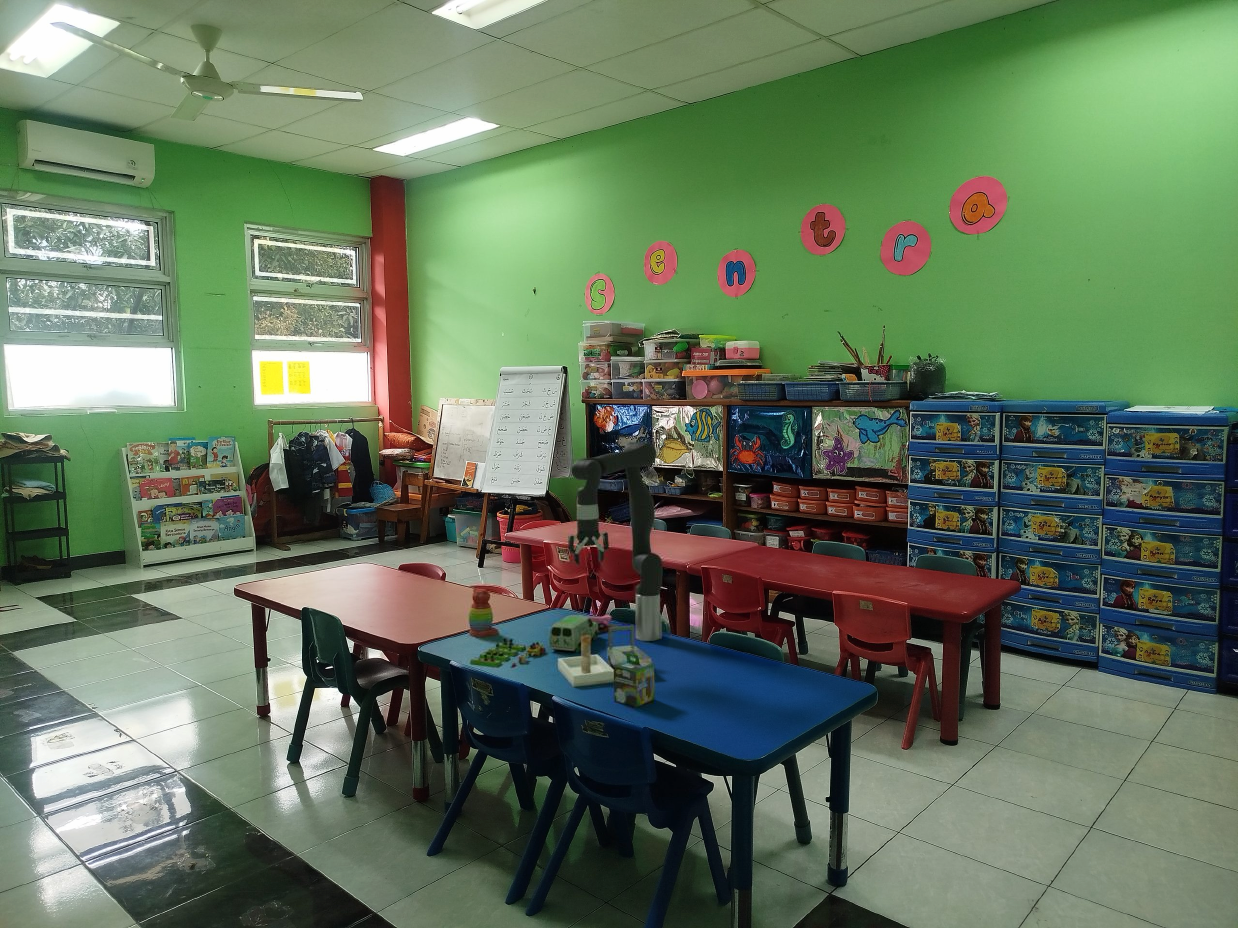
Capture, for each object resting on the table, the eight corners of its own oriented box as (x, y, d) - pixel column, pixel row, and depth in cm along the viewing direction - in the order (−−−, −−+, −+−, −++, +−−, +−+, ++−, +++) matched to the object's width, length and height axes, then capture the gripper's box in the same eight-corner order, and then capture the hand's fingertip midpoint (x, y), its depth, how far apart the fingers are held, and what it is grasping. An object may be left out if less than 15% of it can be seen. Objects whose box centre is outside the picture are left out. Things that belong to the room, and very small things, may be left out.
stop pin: (589, 670, 276) (589, 634, 276) (591, 673, 274) (591, 637, 273) (580, 671, 275) (580, 635, 275) (582, 674, 273) (582, 638, 272)
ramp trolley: (634, 661, 289) (634, 625, 288) (651, 676, 274) (651, 637, 273) (607, 664, 285) (607, 627, 284) (622, 679, 270) (622, 640, 269)
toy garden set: (500, 646, 308) (500, 634, 308) (548, 652, 302) (548, 639, 301) (470, 665, 286) (469, 652, 286) (520, 671, 280) (520, 658, 280)
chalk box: (655, 699, 252) (655, 651, 251) (636, 708, 245) (636, 659, 244) (631, 692, 258) (631, 646, 257) (612, 701, 251) (612, 653, 250)
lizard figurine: (563, 631, 329) (563, 613, 329) (601, 622, 343) (601, 604, 342) (587, 639, 319) (587, 620, 318) (625, 629, 332) (625, 611, 332)
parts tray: (597, 664, 286) (597, 654, 286) (615, 681, 268) (615, 671, 268) (558, 668, 281) (558, 658, 281) (573, 686, 263) (573, 675, 263)
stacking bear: (500, 632, 326) (500, 587, 324) (483, 638, 317) (482, 592, 316) (480, 628, 331) (479, 584, 330) (462, 634, 323) (461, 589, 321)
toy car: (599, 637, 320) (599, 611, 319) (574, 655, 297) (574, 627, 296) (574, 634, 324) (574, 609, 323) (547, 652, 300) (547, 625, 300)
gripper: (603, 514, 295) (604, 559, 296) (564, 517, 290) (566, 562, 291) (610, 516, 288) (611, 562, 289) (571, 519, 283) (572, 566, 284)
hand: (588, 562), depth 290 cm, fingers open, 8 cm apart
